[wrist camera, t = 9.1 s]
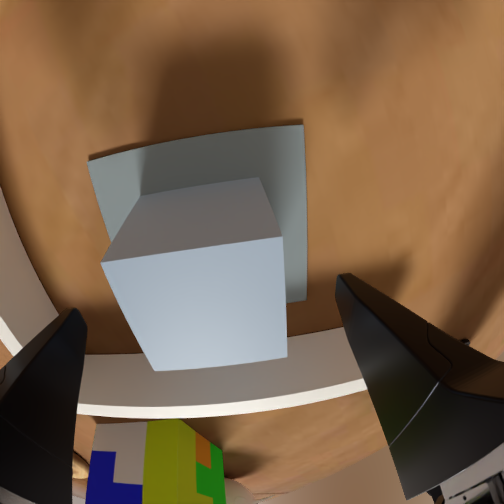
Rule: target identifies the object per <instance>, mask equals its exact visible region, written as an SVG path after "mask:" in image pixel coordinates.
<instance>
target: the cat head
mask: <svg viewBox="0 0 504 504" xmlns="http://www.w3.org/2000/svg"><path fill="white" fill-rule="evenodd" d="M224 482H225V495H226V504H258V503H259V502H261V501H264V500H267V499H269V498H271V497H273V496H274V495H272V496H269V497H266V498H263V499H255V497H254V495H253V494H252V493H251V492H250V490H249V489H247V488H246V487H245V486H244V485H242V484H241V483H239V482H237V481H234V480H232V479H229V478H224Z"/></svg>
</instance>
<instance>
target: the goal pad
mask: <svg viewBox="0 0 504 504" xmlns="http://www.w3.org/2000/svg"><path fill="white" fill-rule="evenodd" d="M87 165H88V169H89V173H90V177H91V180H92V184H93V187H94V191H95V194H96V197H97V201H98V204H99V207H100V210H101V213H102V216H103V220H104V223H105V225H106V228H107V231H108V234H109V237H110V240H111V243H112V241H113V240H114V238H115V236H116V234H117V233H118V231H119V229H120V228H121V226H122V224H123V223H124V221H125V219H126V218H127V216H128V215H129V213H130V211H131V210H132V208H133V207H134V205H135V204H136V202H137V200H138V199H139V197H140V196H143V195H148V194H154V193H159V192H164V191H170V190H176V189H181V188H187V187H193V186H199V185H206V184H212V183H219V182H226V181H233V180H240V179H248V178H256V177H259V178H260V181H261V183H262V186H263V188H264V191H265V193H266V196H267V198H268V201H269V203H270V206H271V208H272V211H273V213H274V216H275V218H276V221H277V223H278V226H279V228H280V231H281V234H282V236H283V252H284V272H285V295H286V303H292V302H298V301H304V300H307V196H306V165H305V144H304V126H303V125H287V126H275V127H264V128H254V129H245V130H237V131H229V132H222V133H215V134H208V135H202V136H196V137H190V138H184V139H179V140H174V141H168V142H163V143H159V144H154V145H149V146H145V147H140V148H136V149H132V150H128V151H124V152H120V153H116V154H112V155H108V156H104V157H101V158H97V159H94V160H90V161H88V162H87Z"/></svg>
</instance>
